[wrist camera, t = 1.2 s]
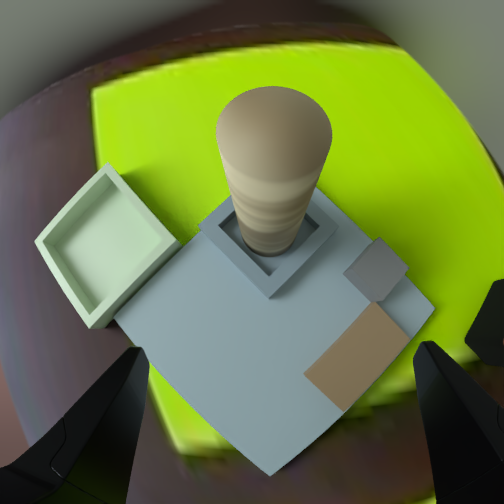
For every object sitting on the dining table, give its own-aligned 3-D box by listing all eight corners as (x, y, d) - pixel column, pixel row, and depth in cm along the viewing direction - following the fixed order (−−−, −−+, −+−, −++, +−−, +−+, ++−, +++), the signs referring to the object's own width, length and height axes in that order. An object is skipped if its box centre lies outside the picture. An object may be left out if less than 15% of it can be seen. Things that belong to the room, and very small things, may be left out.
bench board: (269, 469, 20) (270, 491, 17) (119, 317, 23) (97, 316, 20) (428, 309, 22) (451, 306, 19) (281, 164, 25) (283, 140, 22)
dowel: (268, 268, 22) (275, 204, 10) (229, 230, 23) (192, 130, 10) (307, 230, 23) (354, 132, 10) (268, 193, 24) (272, 71, 11)
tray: (104, 328, 23) (89, 328, 21) (50, 247, 25) (34, 241, 22) (184, 247, 24) (176, 240, 22) (119, 174, 26) (107, 162, 23)
